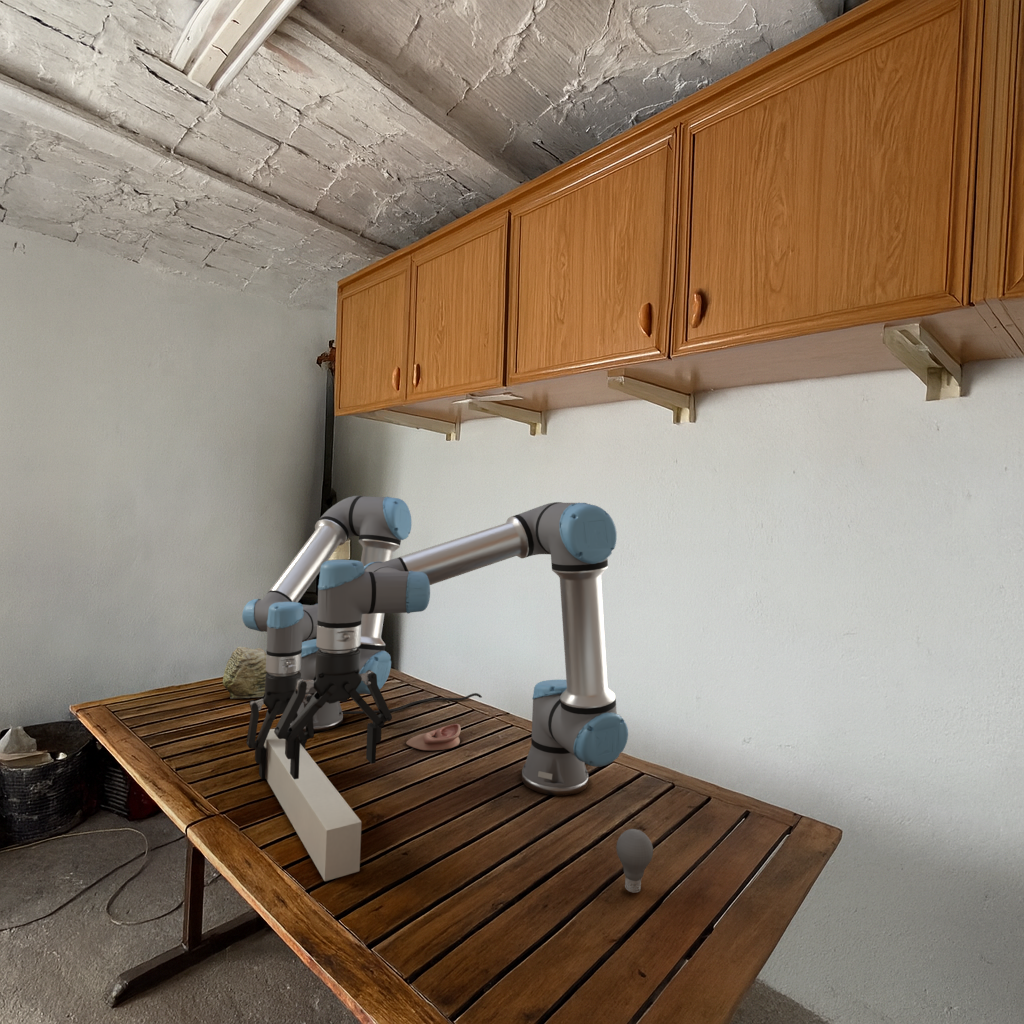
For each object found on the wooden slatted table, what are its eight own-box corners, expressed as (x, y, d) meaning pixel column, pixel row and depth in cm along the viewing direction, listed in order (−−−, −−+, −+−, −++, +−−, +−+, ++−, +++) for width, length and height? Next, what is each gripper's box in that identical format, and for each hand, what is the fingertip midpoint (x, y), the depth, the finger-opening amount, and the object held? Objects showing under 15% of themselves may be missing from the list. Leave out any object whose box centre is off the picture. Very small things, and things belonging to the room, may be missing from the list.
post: (259, 767, 147) (260, 730, 146) (286, 762, 150) (287, 726, 150) (324, 881, 105) (326, 830, 105) (359, 871, 108) (361, 821, 108)
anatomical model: (402, 732, 161) (417, 717, 172) (401, 747, 161) (417, 732, 172) (452, 738, 158) (464, 723, 170) (451, 754, 158) (464, 737, 170)
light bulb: (610, 879, 108) (613, 822, 108) (644, 879, 109) (647, 822, 109) (619, 902, 102) (622, 840, 102) (655, 901, 103) (658, 840, 103)
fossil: (218, 695, 195) (220, 647, 195) (278, 685, 208) (279, 640, 207) (228, 703, 189) (230, 653, 188) (289, 692, 201) (290, 645, 201)
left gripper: (239, 681, 134) (235, 789, 134) (332, 671, 145) (328, 770, 145) (233, 672, 140) (229, 775, 140) (322, 663, 151) (318, 758, 151)
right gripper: (269, 660, 101) (264, 792, 102) (412, 646, 115) (408, 762, 115) (259, 650, 107) (254, 774, 108) (396, 638, 121) (392, 748, 122)
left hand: (279, 773), depth 143 cm, fingers open, 7 cm apart
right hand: (333, 768), depth 112 cm, fingers open, 13 cm apart
